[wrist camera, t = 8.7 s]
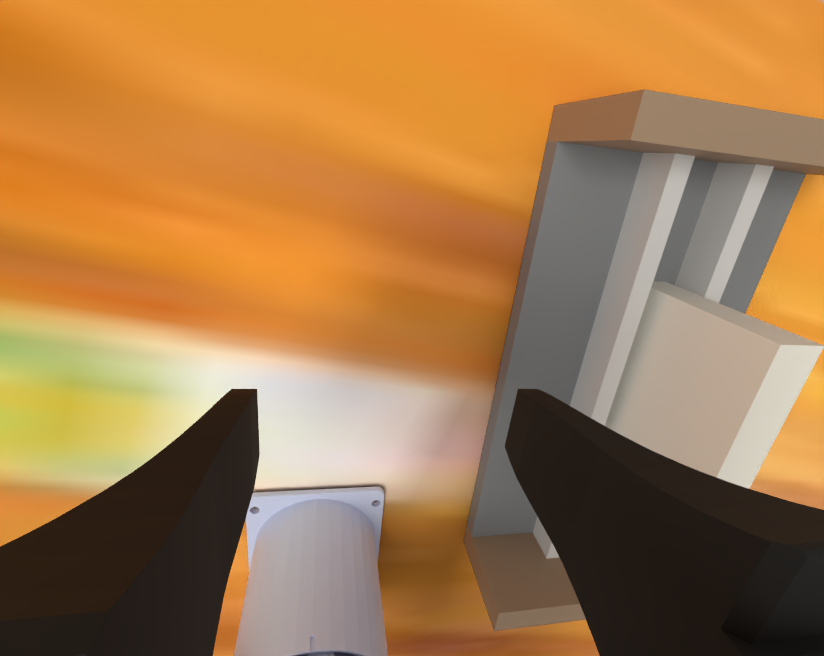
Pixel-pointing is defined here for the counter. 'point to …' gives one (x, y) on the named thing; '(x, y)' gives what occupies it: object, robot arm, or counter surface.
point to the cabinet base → (621, 284)
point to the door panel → (708, 384)
